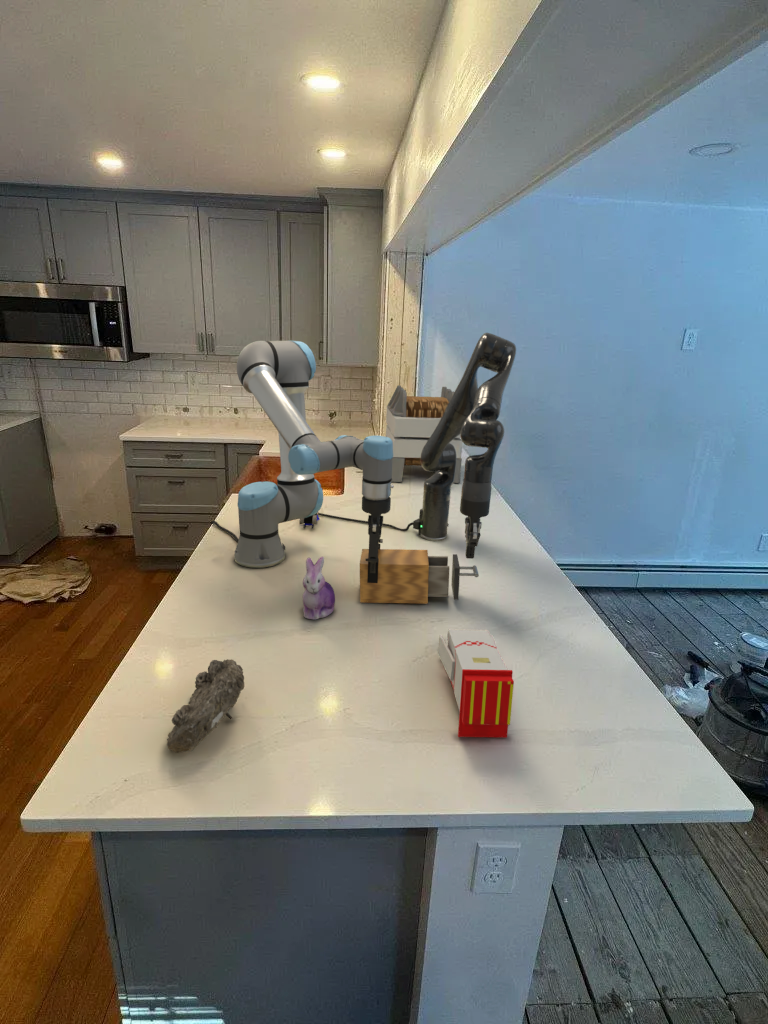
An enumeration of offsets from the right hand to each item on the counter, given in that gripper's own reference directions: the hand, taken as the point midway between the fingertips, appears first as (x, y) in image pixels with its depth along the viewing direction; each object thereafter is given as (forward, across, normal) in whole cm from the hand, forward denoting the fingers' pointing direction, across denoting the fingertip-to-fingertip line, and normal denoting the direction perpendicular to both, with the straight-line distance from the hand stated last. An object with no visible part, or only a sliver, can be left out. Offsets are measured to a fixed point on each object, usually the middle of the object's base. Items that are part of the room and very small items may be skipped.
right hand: (469, 557), depth 152 cm
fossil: (+13, -53, +53) cm, 76 cm away
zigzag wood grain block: (+12, 0, +20) cm, 23 cm away
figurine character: (+13, +50, +51) cm, 73 cm away
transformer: (+13, +126, +10) cm, 127 cm away
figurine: (+13, -11, +39) cm, 43 cm away
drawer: (+11, 0, +8) cm, 14 cm away
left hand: (+6, 0, +26) cm, 26 cm away
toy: (+13, -40, +3) cm, 42 cm away
